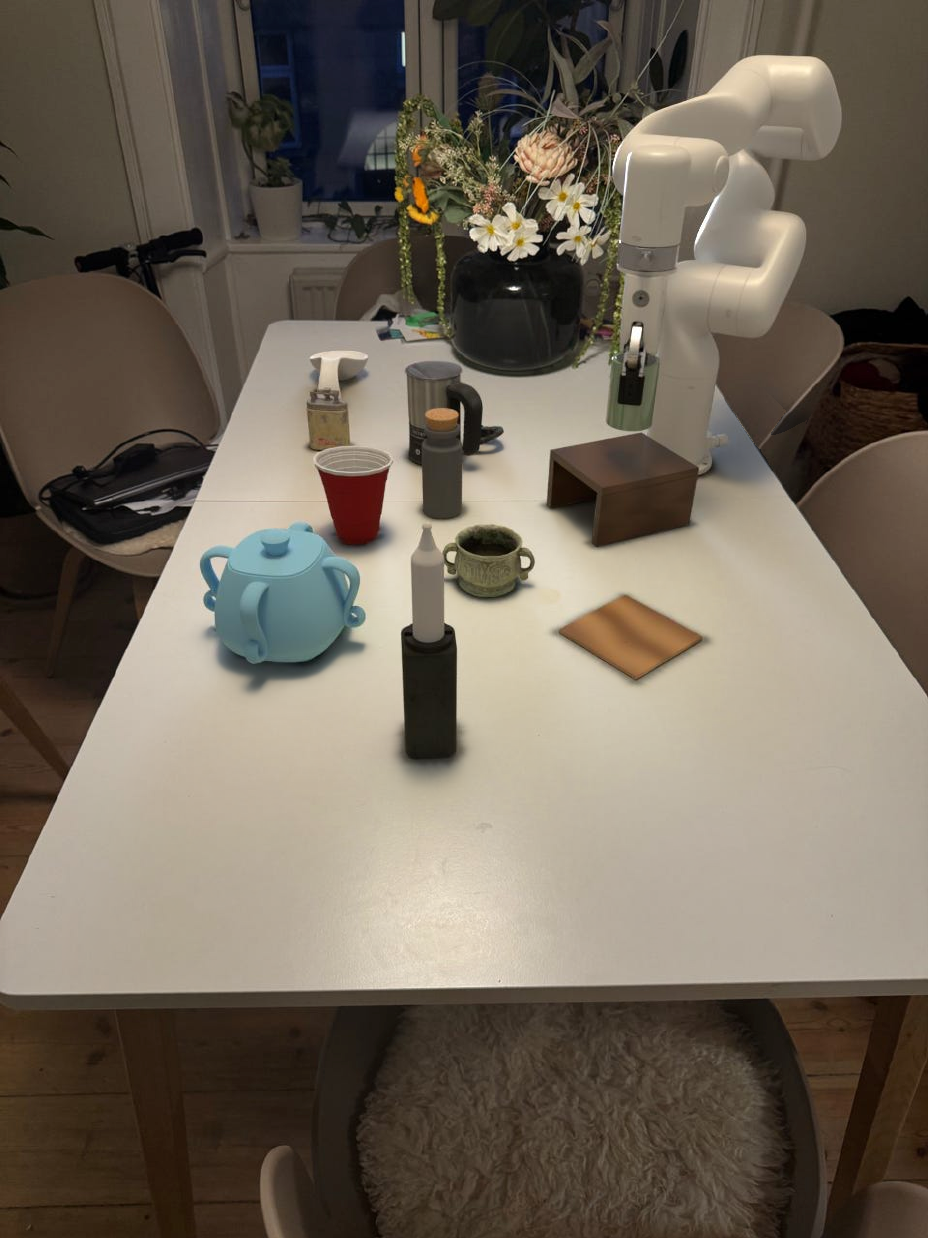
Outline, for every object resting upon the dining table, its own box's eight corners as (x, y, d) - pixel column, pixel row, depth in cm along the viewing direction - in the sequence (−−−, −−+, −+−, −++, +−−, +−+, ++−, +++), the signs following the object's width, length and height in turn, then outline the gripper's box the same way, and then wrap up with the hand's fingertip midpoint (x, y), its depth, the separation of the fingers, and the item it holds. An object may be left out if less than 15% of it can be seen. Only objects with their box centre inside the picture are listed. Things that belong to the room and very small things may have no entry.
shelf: (634, 486, 139) (641, 432, 134) (689, 524, 128) (699, 467, 123) (546, 505, 133) (550, 449, 128) (596, 546, 122) (602, 488, 117)
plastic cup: (408, 523, 127) (405, 446, 121) (378, 559, 119) (373, 478, 112) (340, 511, 130) (334, 435, 124) (306, 545, 122) (297, 465, 115)
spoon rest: (314, 365, 185) (311, 331, 181) (370, 366, 185) (369, 331, 181) (300, 406, 166) (296, 369, 161) (362, 406, 166) (360, 369, 162)
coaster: (624, 597, 112) (625, 594, 111) (702, 640, 104) (702, 636, 104) (558, 632, 105) (558, 628, 105) (635, 680, 98) (636, 676, 97)
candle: (404, 725, 91) (396, 509, 77) (453, 723, 91) (454, 507, 77) (405, 760, 87) (397, 538, 73) (457, 757, 87) (458, 536, 73)
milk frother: (397, 461, 145) (394, 373, 137) (435, 428, 158) (435, 345, 149) (477, 476, 141) (479, 386, 133) (510, 440, 153) (514, 356, 145)
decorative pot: (377, 654, 101) (372, 551, 94) (240, 694, 95) (223, 587, 87) (327, 587, 113) (319, 491, 105) (202, 618, 107) (184, 518, 99)
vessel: (437, 596, 111) (436, 553, 108) (446, 561, 119) (446, 520, 115) (531, 603, 110) (534, 560, 107) (534, 567, 118) (537, 526, 114)
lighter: (353, 444, 151) (349, 387, 145) (347, 453, 148) (343, 395, 142) (313, 441, 152) (307, 385, 146) (306, 450, 149) (301, 393, 143)
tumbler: (634, 410, 126) (642, 348, 121) (661, 426, 122) (670, 362, 116) (597, 418, 124) (602, 354, 119) (622, 434, 119) (629, 369, 114)
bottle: (457, 520, 128) (458, 423, 120) (418, 516, 129) (416, 419, 121) (465, 503, 133) (466, 407, 125) (427, 499, 134) (426, 404, 126)
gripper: (673, 275, 103) (654, 421, 113) (682, 243, 116) (664, 375, 127) (609, 271, 104) (596, 415, 114) (625, 240, 118) (612, 371, 128)
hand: (632, 393), depth 120 cm, fingers closed on tumbler, 6 cm apart
